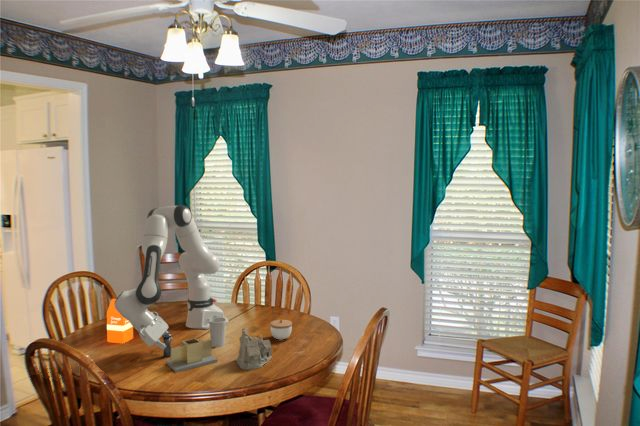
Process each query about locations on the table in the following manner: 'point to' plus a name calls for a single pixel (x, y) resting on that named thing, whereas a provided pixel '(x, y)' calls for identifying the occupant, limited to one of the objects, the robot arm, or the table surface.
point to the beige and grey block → (191, 351)
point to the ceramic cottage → (253, 352)
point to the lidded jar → (281, 328)
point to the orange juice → (117, 326)
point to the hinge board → (185, 366)
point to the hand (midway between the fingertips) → (168, 344)
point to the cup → (217, 331)
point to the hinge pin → (167, 344)
